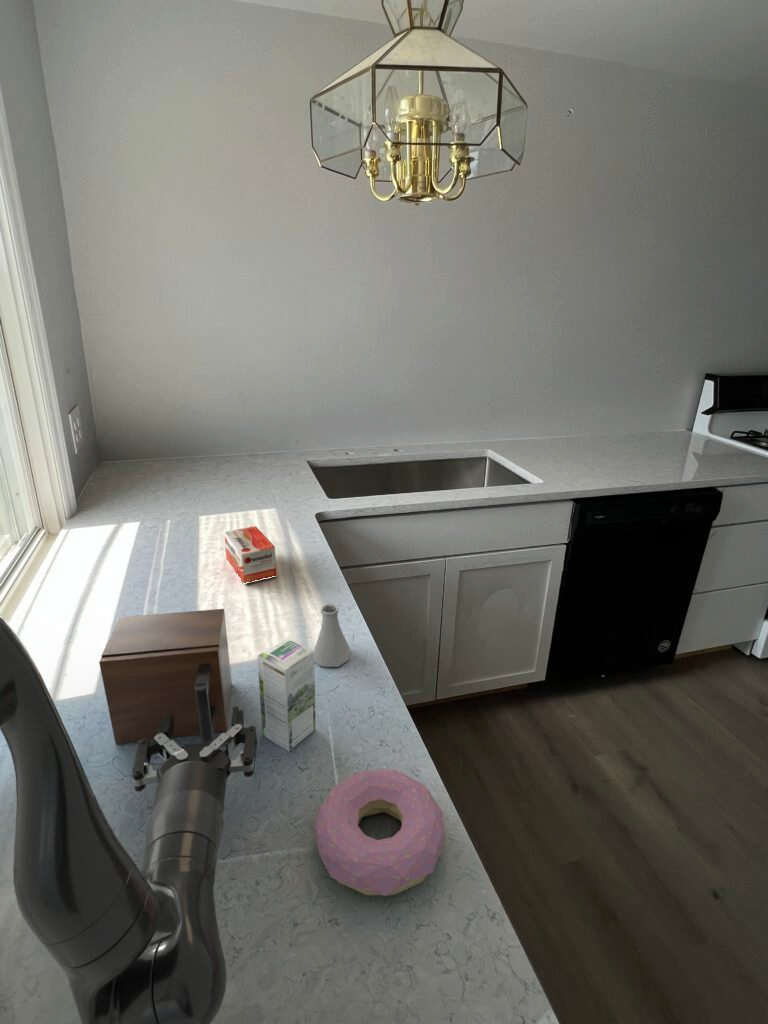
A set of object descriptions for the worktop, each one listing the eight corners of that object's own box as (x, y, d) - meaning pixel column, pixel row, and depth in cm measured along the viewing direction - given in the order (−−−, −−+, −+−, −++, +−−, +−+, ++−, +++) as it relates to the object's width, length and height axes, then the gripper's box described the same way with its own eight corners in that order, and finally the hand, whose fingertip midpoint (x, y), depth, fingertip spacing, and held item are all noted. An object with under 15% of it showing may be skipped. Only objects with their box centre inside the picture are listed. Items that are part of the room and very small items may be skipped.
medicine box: (225, 560, 137) (222, 530, 134) (257, 553, 141) (255, 524, 138) (244, 586, 125) (241, 554, 122) (278, 578, 129) (276, 547, 126)
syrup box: (289, 714, 87) (284, 635, 82) (317, 730, 84) (314, 649, 78) (262, 736, 82) (255, 653, 77) (290, 754, 79) (285, 669, 74)
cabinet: (227, 726, 84) (218, 644, 79) (117, 739, 81) (101, 655, 76) (231, 684, 93) (224, 608, 88) (133, 694, 91) (119, 617, 85)
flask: (340, 672, 97) (340, 623, 93) (303, 663, 99) (301, 614, 96) (356, 649, 103) (356, 602, 100) (321, 641, 106) (320, 595, 102)
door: (223, 760, 78) (214, 676, 73) (104, 776, 75) (85, 689, 70) (227, 726, 84) (218, 646, 79) (117, 739, 81) (100, 657, 76)
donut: (470, 857, 65) (473, 826, 63) (361, 937, 57) (361, 904, 55) (392, 771, 77) (393, 742, 75) (292, 826, 68) (290, 796, 67)
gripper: (252, 783, 60) (255, 686, 75) (111, 802, 58) (144, 698, 72) (256, 833, 63) (259, 730, 78) (122, 853, 60) (151, 743, 75)
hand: (203, 715), depth 75 cm, fingers open, 8 cm apart
